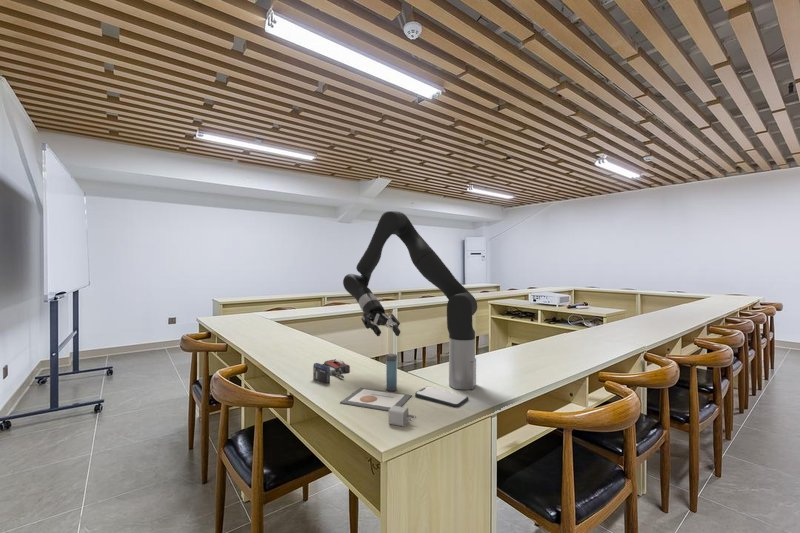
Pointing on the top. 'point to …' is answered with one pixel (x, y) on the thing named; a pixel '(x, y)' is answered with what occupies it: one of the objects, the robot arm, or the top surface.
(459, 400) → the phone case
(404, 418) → the usb wall charger
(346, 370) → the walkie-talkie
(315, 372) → the mini dv tape
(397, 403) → the grey picture frame
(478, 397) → the top surface
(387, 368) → the bottle
